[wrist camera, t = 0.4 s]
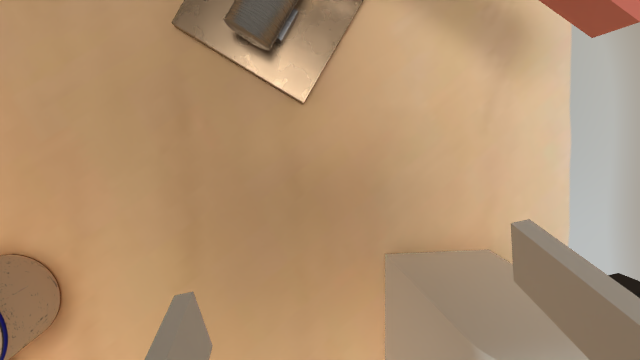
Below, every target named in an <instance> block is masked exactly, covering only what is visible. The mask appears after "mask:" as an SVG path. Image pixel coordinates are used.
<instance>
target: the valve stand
mask: <svg viewBox="0 0 640 360" xmlns="http://www.w3.org/2000/svg"><path fill="white" fill-rule="evenodd" d="M362 1H363V0H184V2H183V3H182V5H181V7H180V9H179V10H178V12H177V14H176V16H175V18H174V19H173V21H172V24H173V25H174V26H175V27H176V28H177V29H179V30H181V31H182V32H184V33H186V34H187V35H189V36H191V37H192V38H194V39H196V40H197V41H199V42H201V43H202V44H204V45H206V46H207V47H209V48H210V49H212V50H214V51H215V52H217V53H219V54H220V55H222V56H224V57H225V58H227V59H229V60H230V61H232V62H234V63H235V64H237V65H239V66H240V67H242V68H244V69H245V70H247V71H249V72H250V73H252V74H253V75H255V76H257V77H258V78H260V79H262V80H263V81H265V82H267V83H268V84H270V85H272V86H273V87H275V88H277V89H278V90H280V91H282V92H283V93H285V94H287V95H288V96H290V97H292V98H293V99H295V100H296V101H298V102H300V103H301V104H303V103H304V101H305V100H306V98H307V96H308V94H309V93H310V91H311V89H312V88H313V86H314V84H315V82H316V81H317V79H318V77H319V75H320V74H321V72H322V70H323V69H324V67H325V65H326V63H327V62H328V60H329V58H330V56H331V55H332V53H333V51H334V50H335V48H336V46H337V44H338V43H339V41H340V39H341V37H342V36H343V34H344V32H345V31H346V29H347V27H348V25H349V24H350V22H351V20H352V18H353V17H354V15H355V13H356V12H357V10H358V8H359V6H360V5H361V3H362Z"/></svg>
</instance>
